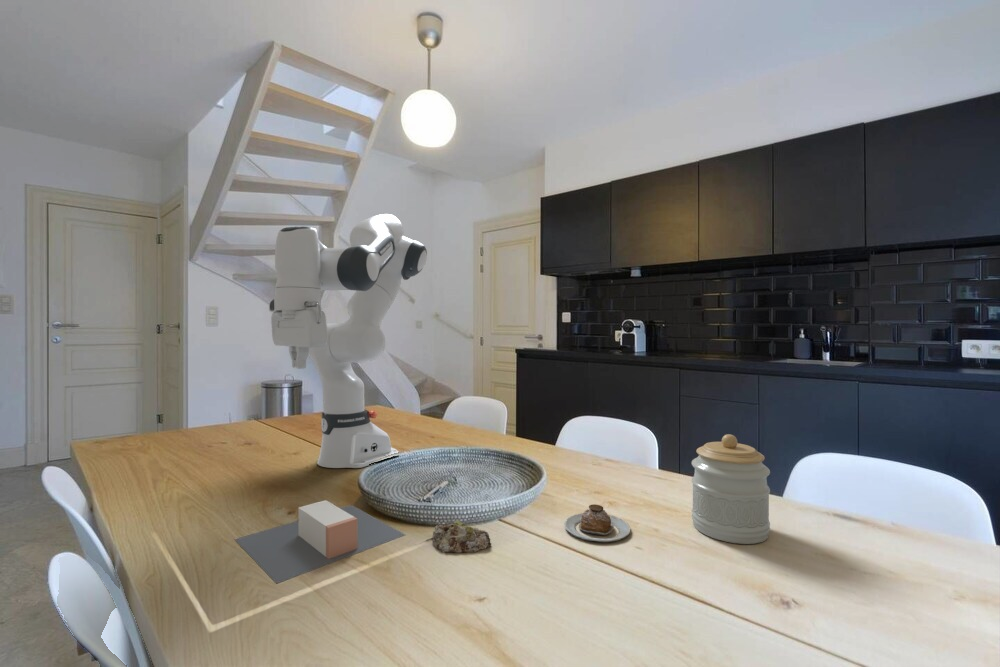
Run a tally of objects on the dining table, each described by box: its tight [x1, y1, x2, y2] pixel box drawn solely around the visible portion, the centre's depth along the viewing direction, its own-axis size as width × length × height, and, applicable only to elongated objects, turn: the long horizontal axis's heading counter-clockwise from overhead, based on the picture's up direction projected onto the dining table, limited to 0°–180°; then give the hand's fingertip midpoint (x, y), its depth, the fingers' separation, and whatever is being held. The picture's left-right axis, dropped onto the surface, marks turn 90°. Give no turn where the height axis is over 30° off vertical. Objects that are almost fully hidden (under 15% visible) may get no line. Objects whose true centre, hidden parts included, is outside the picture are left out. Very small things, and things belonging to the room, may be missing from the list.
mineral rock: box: [432, 520, 492, 554], centre depth 80 cm, size 11×4×8 cm
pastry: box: [564, 504, 631, 543], centre depth 86 cm, size 12×12×5 cm
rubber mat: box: [234, 504, 406, 584], centre depth 81 cm, size 22×20×1 cm
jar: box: [691, 433, 771, 545], centre depth 85 cm, size 13×13×18 cm
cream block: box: [297, 499, 358, 559], centre depth 80 cm, size 5×5×12 cm
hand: (299, 368), depth 97 cm, fingers closed
